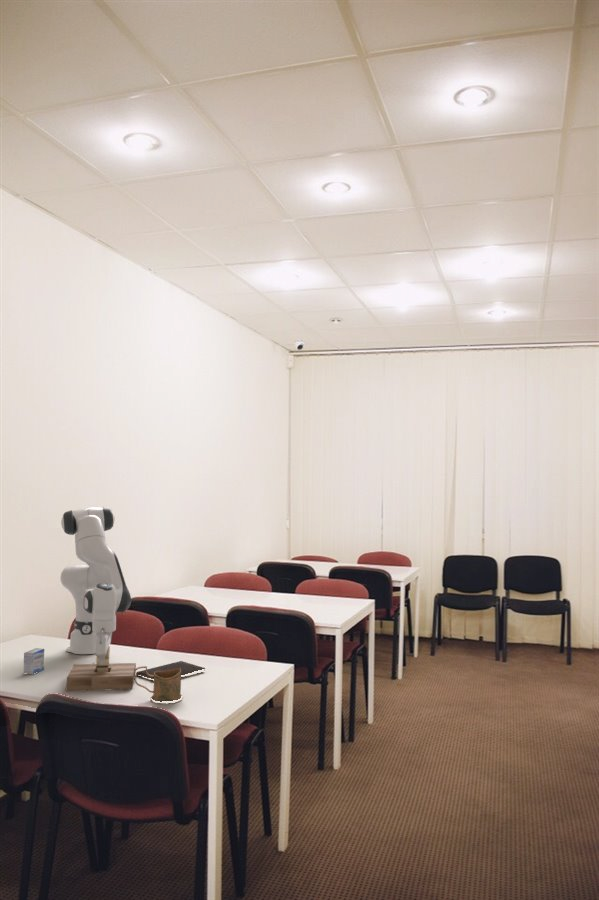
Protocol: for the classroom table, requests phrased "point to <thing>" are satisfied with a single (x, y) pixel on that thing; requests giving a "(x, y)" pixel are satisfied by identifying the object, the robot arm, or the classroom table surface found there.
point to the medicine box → (34, 661)
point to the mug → (165, 684)
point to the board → (101, 677)
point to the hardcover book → (184, 667)
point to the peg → (104, 666)
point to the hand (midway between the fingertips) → (102, 661)
